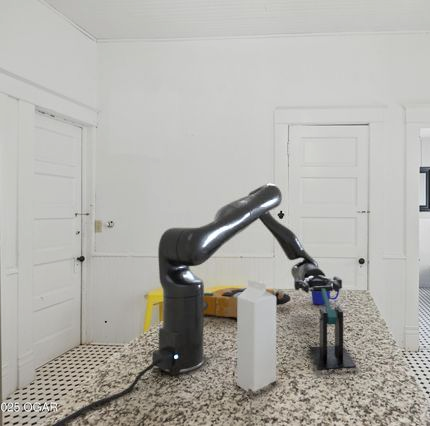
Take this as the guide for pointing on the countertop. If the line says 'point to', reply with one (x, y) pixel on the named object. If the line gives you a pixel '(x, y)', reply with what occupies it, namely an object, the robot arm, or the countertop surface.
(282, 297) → the device
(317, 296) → the mug
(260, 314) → the milk
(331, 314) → the lever
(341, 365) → the bracket
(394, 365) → the countertop surface
